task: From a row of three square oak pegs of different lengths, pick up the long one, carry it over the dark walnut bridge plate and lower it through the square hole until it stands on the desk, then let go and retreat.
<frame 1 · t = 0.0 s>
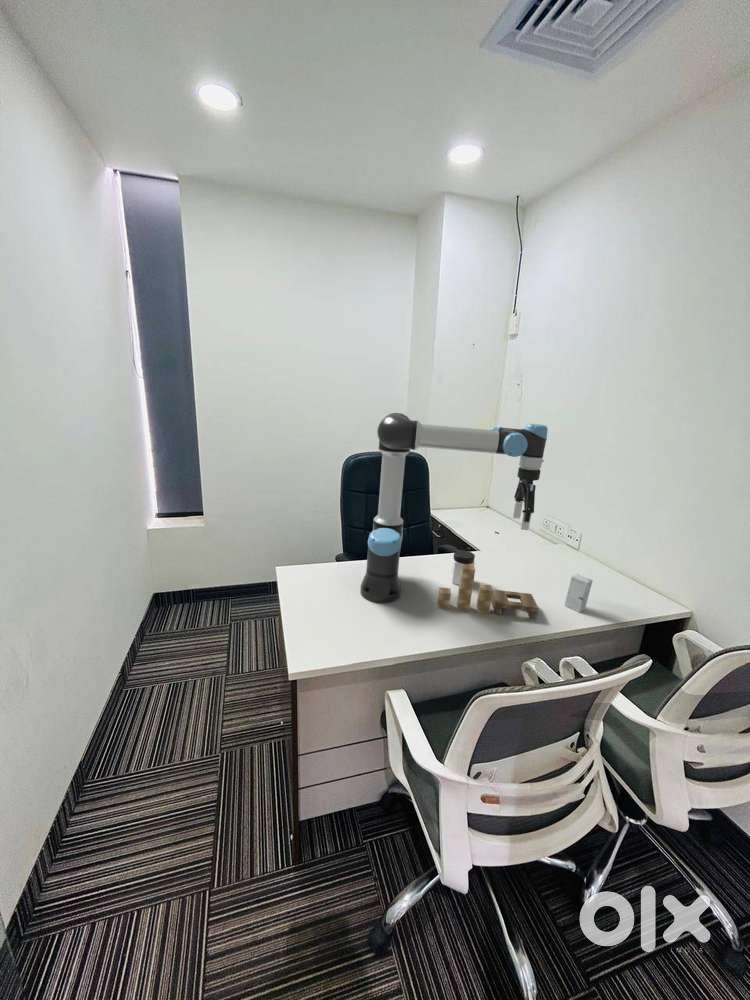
hand: (520, 523, 154), 28 cm above the table, fingers open, 13 cm apart
skincare box: (574, 608, 153), on the table
peg long: (462, 607, 147), on the table
bridge: (512, 609, 149), on the table
jar: (460, 581, 167), on the table
peg short: (443, 605, 148), on the table
peg mid: (482, 610, 147), on the table
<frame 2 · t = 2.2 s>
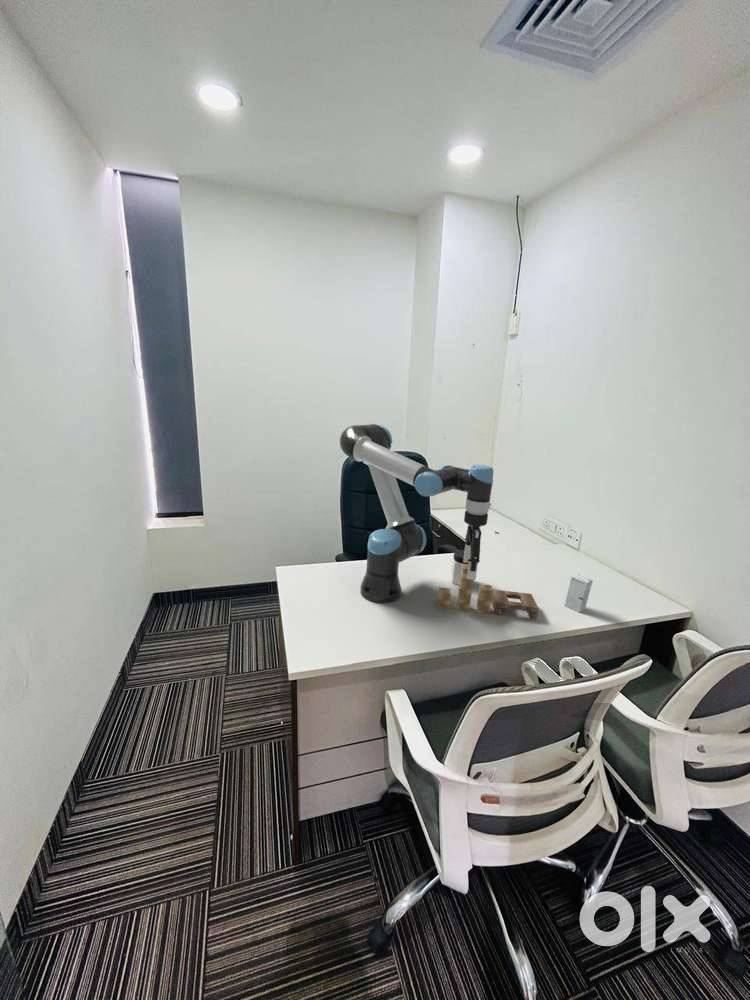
hand: (469, 570, 143), 15 cm above the table, fingers open, 13 cm apart
nothing on the table moved.
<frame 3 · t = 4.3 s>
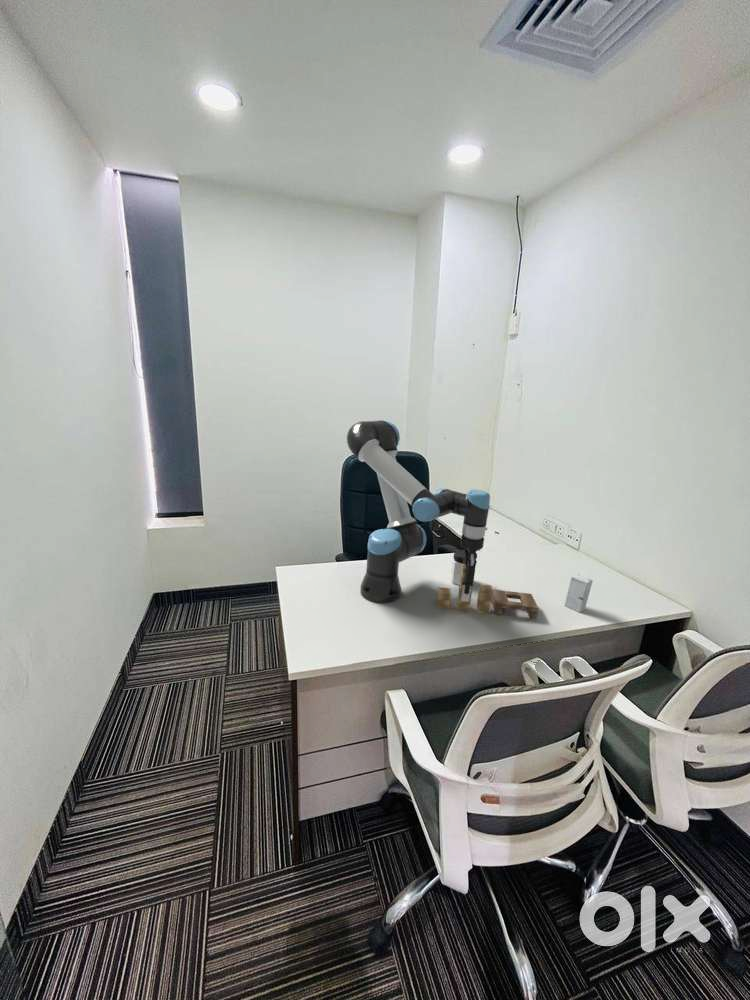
hand: (464, 597, 146), 4 cm above the table, fingers closed on peg long, 4 cm apart
peg long: (462, 607, 147), on the table, touching gripper
everything else where it was.
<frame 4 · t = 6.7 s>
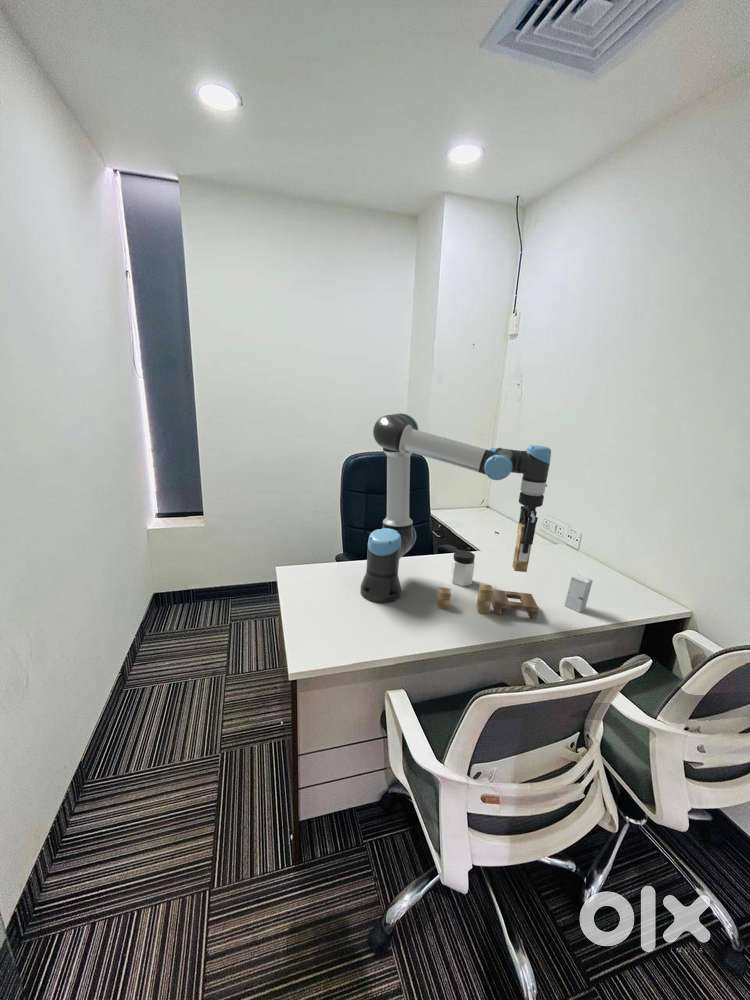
hand: (521, 558, 143), 20 cm above the table, fingers closed on peg long, 4 cm apart
peg long: (519, 569, 144), point 16 cm above the table, touching gripper
everything else where it was.
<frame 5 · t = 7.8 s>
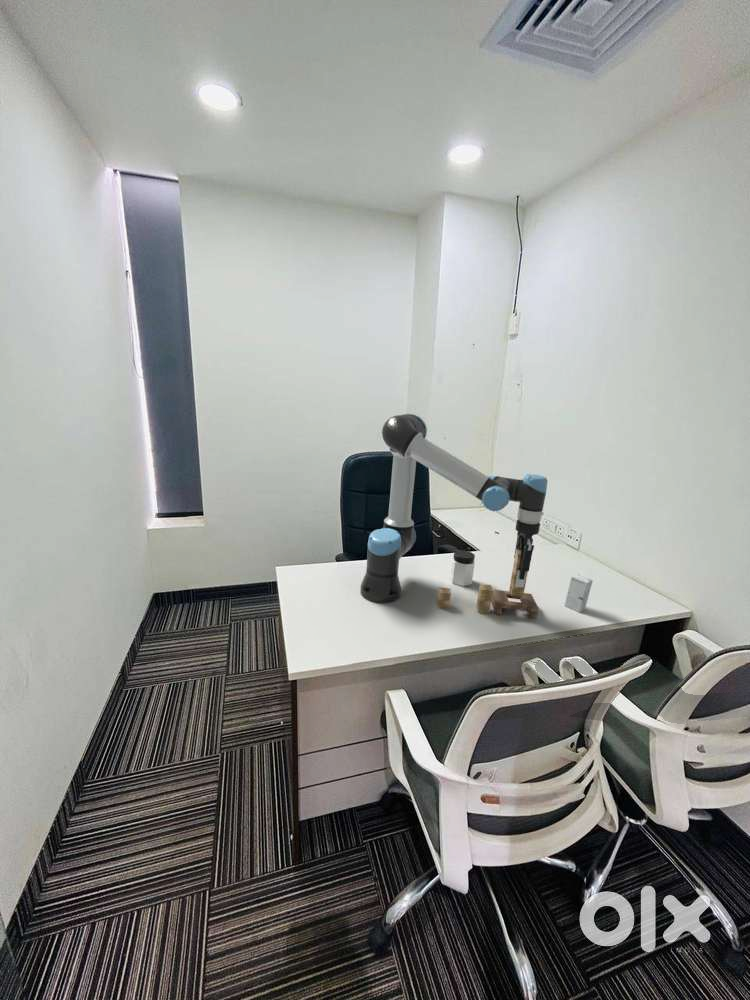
hand: (517, 583, 146), 10 cm above the table, fingers closed on peg long, 4 cm apart
peg long: (516, 593, 147), point 6 cm above the table, touching gripper
everything else where it was.
when the fingers open (6 cm above the table, at t = 9.0 s): peg long drops 2 cm, on the table.
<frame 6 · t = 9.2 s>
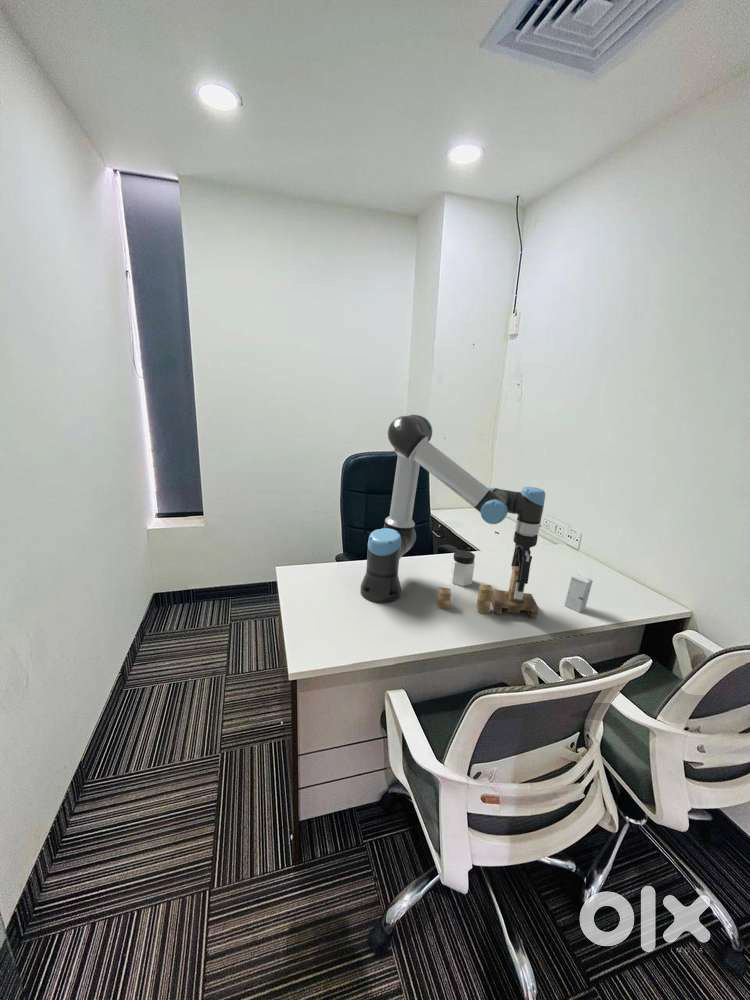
hand: (515, 593, 147), 7 cm above the table, fingers open, 7 cm apart
peg long: (512, 609, 149), on the table
everything else where it was.
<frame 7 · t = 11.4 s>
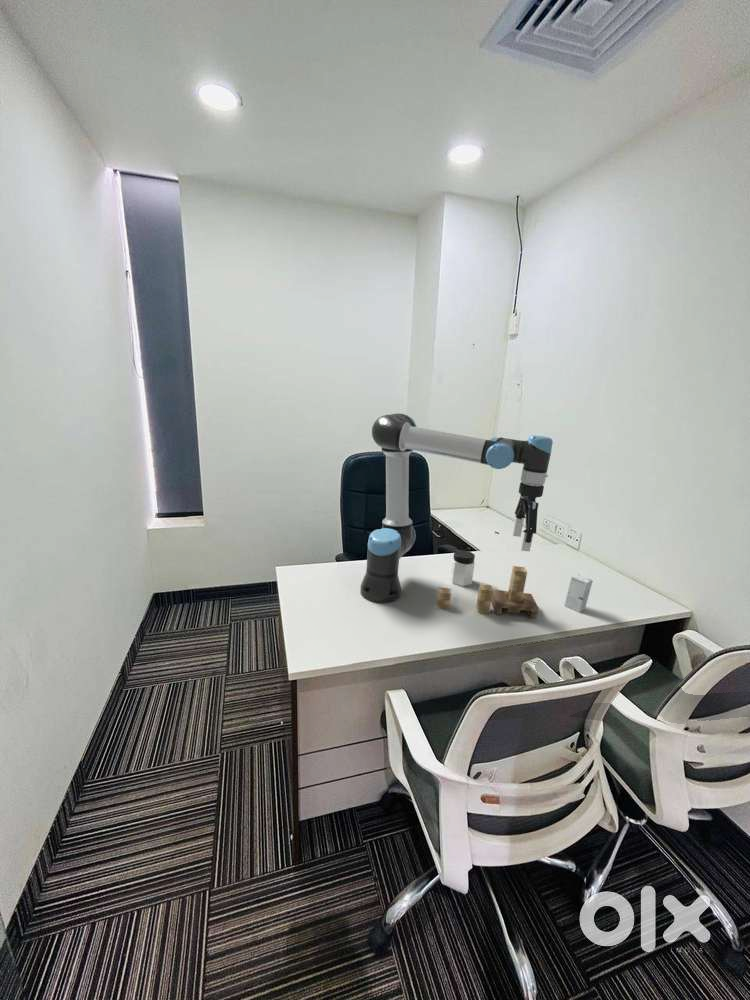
hand: (520, 543, 142), 25 cm above the table, fingers open, 13 cm apart
nothing on the table moved.
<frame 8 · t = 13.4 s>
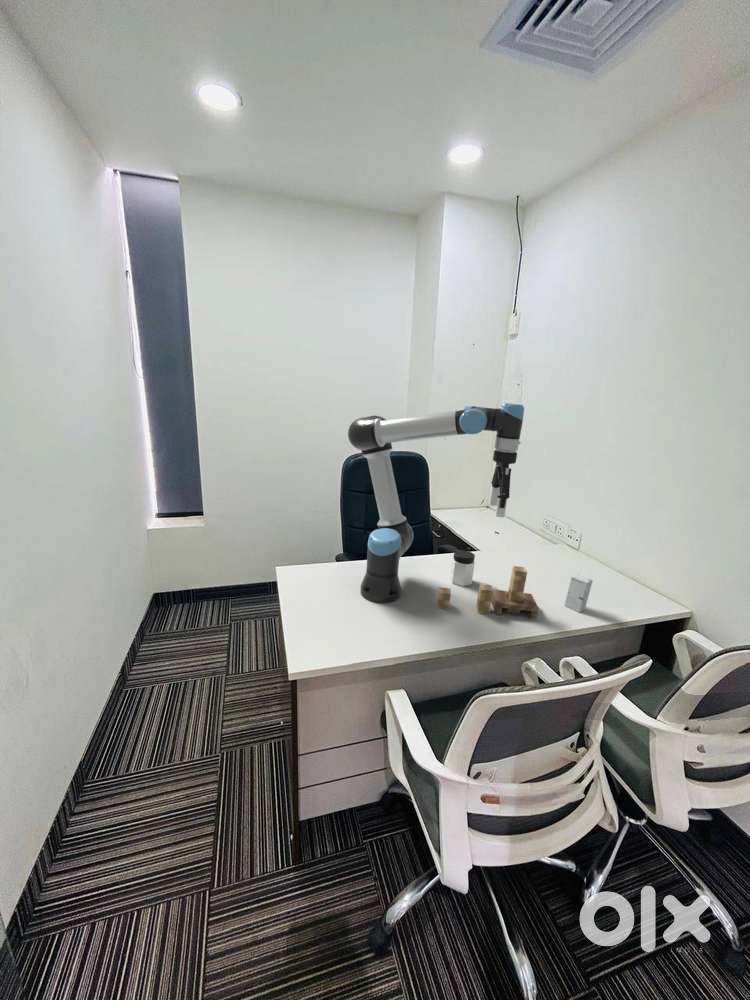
hand: (496, 510, 145), 35 cm above the table, fingers open, 13 cm apart
nothing on the table moved.
at the end: peg long 0.0 cm off-centre on the bridge, point 0.0 cm above the bridge's base; peg long tilted 0°; the gripper is holding nothing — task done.
